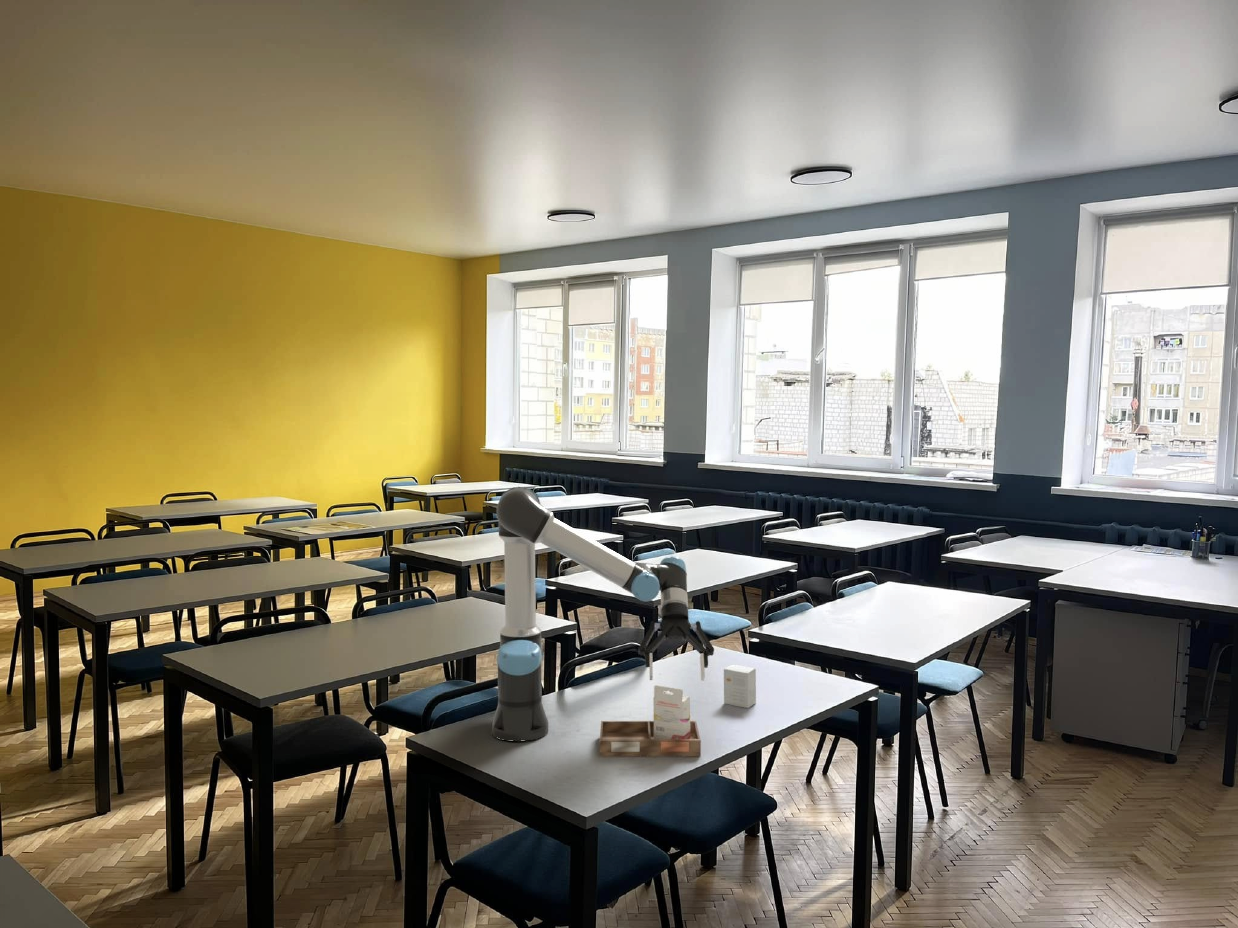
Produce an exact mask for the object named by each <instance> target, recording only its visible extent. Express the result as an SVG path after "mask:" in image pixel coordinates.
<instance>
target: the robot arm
mask: <svg viewBox="0 0 1238 928" xmlns="http://www.w3.org/2000/svg"><path fill="white" fill-rule="evenodd" d="M540 501H541V500H540V498H539V496H538V495H537V494H536V493H535V492H534V491H533V490H531V489H530V488H529V487H528V488H527V487H524V486H523V487H522V486H517V487H516V486H515V487H511V488H509V489H507V490H506V491H504V492H503V494H502V495H501V496H500V498H499V501H498V502H497V506H496V517H497V520H498V536H499V538H500V539H501V540H502V541H503V542H504V547H503V549H504V551H503V552H504V554H503V555H504V611H505V612H504V613H505V614H504V615H505V617H504V621H505V623H504V624H505V625H504V626H503V628H502V629H501V630H500V631H499V634H500V635H499V636H500V637H499V639H500V640H499V641H500V642H499V648H498V650H497V656H496V663H497V707H496V710H495V714H494V717H493V720H492V724H491V734H493V735H494V736H495V737H498V738H500V739H504V740H513V741H521V740H532V741H534V740H533V739H536V740H539V739H541V738H543V737H545V736H546V735H548V733H549V720H548V717H547V714H546V711H545V708H544V705H543V700H542V699H543V697H542V696H543V695H542V693H543V692H542V689H543V688H542V687H543V686H542V683H543V682H542V660H543V647H542V629H541V627H540V626H538V625H537V619H536V618H537V614H536V613H537V612H536V611H537V610H536V605H537V604H536V603H537V600H536V599H537V598H536V544H542V545H544V546H546V547H548V548H549V549H551V550H553V551H555V552H557V553H559V555H561V556H562V555H563V556H564V557H566V558H568V559H569V560H571V561H573V562H574V563H576V564H578V565H580V566H582V567H584V568H586V569H588V570H589V571H591V572H592V573H595V574H596V575H598V576H600V577H601V578H604V579H605V580H607V581H609V582H611V583H613V584H615V585H617V586H618V587H620V588H621V589H623V590H625V591H627V592H628V593H630V594H632V595H633V596H634V598H636V599H638V600H640V601H642V602H651V601H653V600H655V598H657V597H658V595H659V593H660V607H661V610H660V612H661V613H660V614H661V616H660V617H661V618H660V619H661V621H660V622H659V623H658V622H656V621H654V620H651V621H650V624H649V628H648V629H647V632H646V634H645V635H644V637H643V639H642V640H641V643H640V645H639V646H638V655H639V656H643V657H644V666H645V668H649V681H653V680H654V679H653V677H654V676H653V675H654V674H653V672H654V669H653V667H654V666H653V664H654V663H653V653H654V652H655V651H656V650H657V649H658V647H659V646H660V645H662V643H664V642H665V641H666V640H667V639H669V640H675V639H676V640H682V639H684V641H685V642H687V643H688V644H690V646H691V647H693V649H694V650H695V651H696V652H698V653H699V654H700V656H699V661H700V662H699V665H700V681H705V678H706V671H705V669H707V668H708V666H709V657H710V656H713V655H714V653H715V648H714V646H713V645H712V643H711V642H710V640H709V638H708V637H707V635H706V633H705V632H704V630H703V628H702V625H701V622H700V620H697V621H695V622H694V623H691V622H690V620H689V619H690V617H689V607H688V606H689V600H688V581H687V580H688V579H687V576H688V573H687V567H686V562H685V561H684V559H682V558H680V557H677V556H670V557H667V556H666V557H664V558H663V559H662V560H661V561H660V562H659V563H658V564H657V563H646V562H645V563H644V562H638V561H634V560H633V561H632V560H630V559H628V558H626V557H625V556H623V555H621V554H619V553H617V552H616V551H614V550H612V549H610V548H608V547H607V546H605V545H603V544H601V543H600V542H598V541H597V540H594V539H593V538H591V537H589V536H588V535H585V534H583V533H582V532H580V531H579V530H577V529H575V528H573V527H571V526H569V525H568V524H566V523H564V522H562V521H560V520H559V519H557V518H555V516H554V513H553V512H552V511H551V510H549V509H547V508H546V507H544V506H543V505H542V504H541V502H540ZM658 629H660V631H661V632H660V634H659V635H658V636H657V637H656V638H655V639H654V640H653V641H652V642H651V643H650V641H651V639H652V638H653V636H654V634H655V632H656V631H658ZM691 629H692V630H693V631H694V632H695V633H696V635H697V636H698V639H699V640H700V641H699V640H698V639H697V638H695V636H694V635H692V633H691V632H690V630H691ZM700 642H701V643H700ZM649 643H650V644H649ZM493 735H492V736H493ZM494 736H493V737H494ZM495 737H494V738H495ZM540 737H541V738H540ZM538 738H539V739H538Z"/></svg>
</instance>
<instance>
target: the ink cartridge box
mask: <svg viewBox="0 0 1238 928" xmlns="http://www.w3.org/2000/svg"><path fill="white" fill-rule="evenodd" d="M653 690H654V691H653V694H654V695H653V721H654V739H690V721H691V697H690V695H689V696H688V695H684V691H683V689H681V688H674V687H669V686H661V685H654V686H653Z"/></svg>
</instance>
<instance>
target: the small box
mask: <svg viewBox="0 0 1238 928" xmlns="http://www.w3.org/2000/svg"><path fill="white" fill-rule="evenodd" d="M756 670H757V669H756V668H755V667H751V666H750V667H749V666H744V665H739V664H738V665H737V664H731V665H729V666H726V667H725V668H723V704H725V705H730V706H736V707H740V708H745V709H749V708H751V707H752V706H753V705H754V704H756V703H757V675H756V674H757V671H756Z"/></svg>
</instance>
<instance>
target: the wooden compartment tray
mask: <svg viewBox="0 0 1238 928" xmlns="http://www.w3.org/2000/svg"><path fill="white" fill-rule="evenodd" d="M701 744H702V741H701V736H700V732H699V728H698V723H697V720H690V739H654V720H601V721H600V731H599V757H701V752H702V750H701V747H702V746H701Z"/></svg>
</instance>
